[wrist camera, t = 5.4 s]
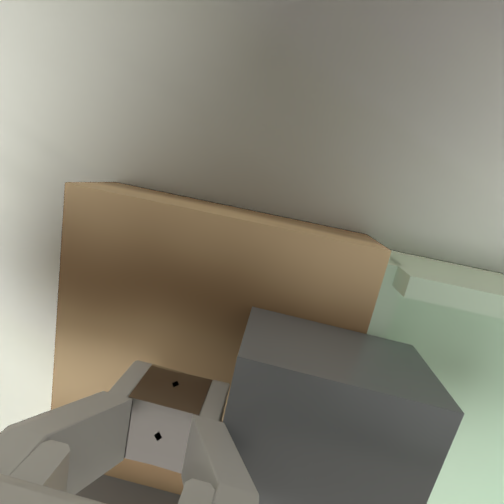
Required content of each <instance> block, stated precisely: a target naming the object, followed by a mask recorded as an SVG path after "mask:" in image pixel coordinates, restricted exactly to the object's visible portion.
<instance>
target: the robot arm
mask: <svg viewBox="0 0 504 504" xmlns="http://www.w3.org/2000/svg"><path fill="white" fill-rule="evenodd" d="M229 386H230V384H229V383H226V382H222V381H217V380H211V379H207V378H203V377H198V376H194V375H190V374H186V373H184V372H180V371H176V370H173V369H169V368H166V367H162V366H158V365H155V364H151V363H147V362H143V361H139V360H137V361H135V362H133V364H132V365H131V366H130V367H129V368H128V369H127V371H126V372H125V373H124V374H123V375H122V376H121V378H120V379H119V380H118V381H117V382H116V383H115V384H114V386H113V387H112V388H111V389H110V390H109V391H108V392H105V391H101V392H99V393H96V394H93V395H91V396H88V397H85V398H82V399H80V400H77V401H74V402H72V403H69V404H66V405H63V406H61V407H58V408H55V409H53V410H50V411H47V412H44V413H42V414H39V415H36V416H34V417H31V418H28V419H25V420H23V421H20V422H17V423H15V424H12V425H9V426H7V427H6V428H5V429H4V430H3V431H2V432H1V433H0V504H106V503H102V502H99V501H95V500H92V499H88V498H85V497H81V496H78V495H75V494H76V493H78V492H79V491H81V490H82V489H83V488H85V487H86V486H88V485H89V484H90V483H92V482H93V481H95V480H96V479H98V478H99V477H100V476H102V475H103V474H105V473H106V472H107V471H109V470H110V469H112V468H113V467H114V466H116V465H117V464H119V463H120V462H122V461H123V460H124V458H126V459H130V460H134V461H138V462H142V463H147V464H151V465H154V466H158V467H161V468H164V469H167V470H171V471H174V472H177V473H180V474H181V477H182V482H183V487H184V488H183V490H182V493H181V496H180V499H179V502H178V504H259V496H260V495H259V493H258V491H257V489H256V487H255V485H254V483H253V481H252V479H251V477H250V475H249V473H248V471H247V469H246V467H245V464H244V462H243V460H242V458H241V456H240V454H239V452H238V450H237V448H236V446H235V444H234V442H233V440H232V438H231V436H230V434H229V432H228V429H227V427H226V425H225V423H223V422H222V418H223V413H224V409H225V404H226V400H227V395H228V391H229Z"/></svg>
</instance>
